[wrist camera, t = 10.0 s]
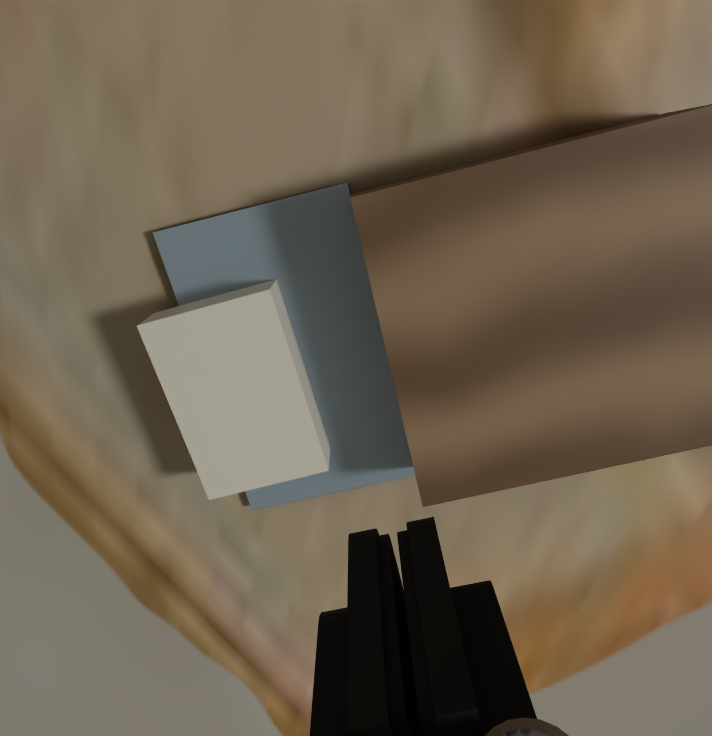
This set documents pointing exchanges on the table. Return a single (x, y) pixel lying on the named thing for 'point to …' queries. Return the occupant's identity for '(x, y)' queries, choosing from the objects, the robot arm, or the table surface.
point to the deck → (549, 305)
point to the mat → (308, 324)
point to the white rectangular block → (238, 389)
